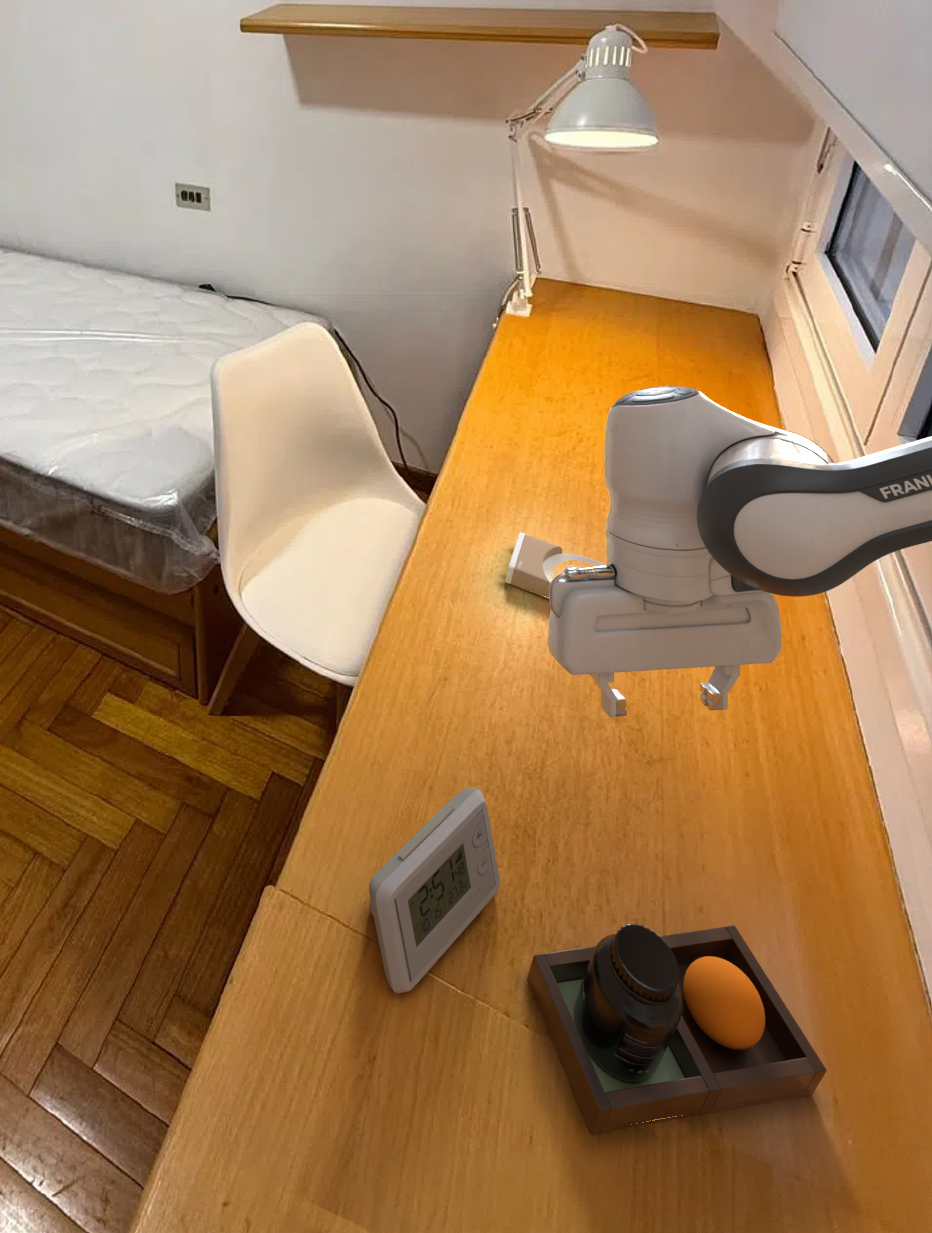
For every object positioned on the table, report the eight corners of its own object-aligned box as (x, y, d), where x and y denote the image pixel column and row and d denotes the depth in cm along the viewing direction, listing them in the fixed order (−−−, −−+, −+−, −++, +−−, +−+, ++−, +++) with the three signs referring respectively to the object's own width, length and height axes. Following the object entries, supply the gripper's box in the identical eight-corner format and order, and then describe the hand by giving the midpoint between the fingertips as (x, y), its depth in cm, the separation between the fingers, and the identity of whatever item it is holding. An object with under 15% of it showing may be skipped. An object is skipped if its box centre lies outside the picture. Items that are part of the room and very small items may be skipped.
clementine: (721, 975, 75) (739, 937, 73) (770, 1059, 70) (792, 1020, 67) (661, 984, 74) (677, 946, 72) (706, 1070, 69) (725, 1031, 67)
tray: (723, 948, 78) (734, 924, 76) (813, 1094, 68) (827, 1070, 67) (526, 978, 75) (533, 954, 74) (590, 1134, 66) (600, 1110, 64)
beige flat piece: (522, 525, 127) (666, 577, 118) (518, 540, 128) (660, 593, 119) (506, 573, 117) (661, 633, 108) (502, 589, 119) (655, 650, 110)
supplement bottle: (559, 986, 74) (586, 907, 69) (634, 986, 74) (665, 907, 69) (593, 1087, 68) (625, 1007, 63) (675, 1087, 68) (713, 1007, 63)
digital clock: (390, 1009, 73) (404, 939, 69) (333, 907, 80) (342, 838, 76) (523, 920, 80) (543, 851, 76) (459, 833, 87) (473, 766, 83)
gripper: (565, 584, 72) (569, 738, 72) (792, 570, 72) (796, 723, 73) (533, 555, 78) (538, 697, 78) (743, 543, 78) (746, 684, 79)
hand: (664, 710), depth 75 cm, fingers open, 8 cm apart
